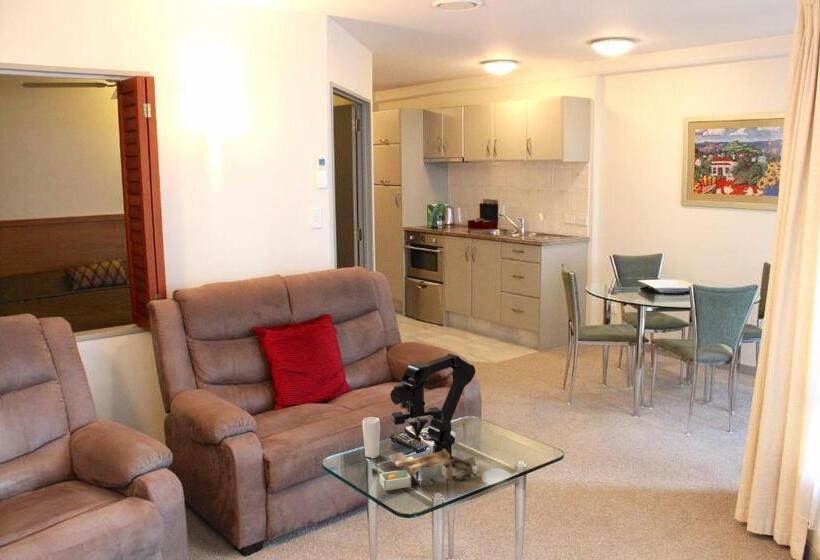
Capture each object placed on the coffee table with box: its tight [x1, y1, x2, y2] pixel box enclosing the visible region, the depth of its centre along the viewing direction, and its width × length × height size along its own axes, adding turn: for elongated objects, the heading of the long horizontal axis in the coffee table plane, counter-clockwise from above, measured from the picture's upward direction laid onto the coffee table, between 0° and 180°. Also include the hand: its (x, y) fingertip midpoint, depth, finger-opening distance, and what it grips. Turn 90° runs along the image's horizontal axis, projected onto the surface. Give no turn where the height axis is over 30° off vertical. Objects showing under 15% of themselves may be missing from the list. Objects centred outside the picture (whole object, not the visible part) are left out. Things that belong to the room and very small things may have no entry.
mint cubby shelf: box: [378, 469, 412, 492], centre depth 264 cm, size 10×7×4 cm
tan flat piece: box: [388, 449, 452, 474], centre depth 269 cm, size 20×14×3 cm
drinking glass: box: [362, 416, 381, 459], centre depth 286 cm, size 7×7×15 cm
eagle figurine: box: [450, 459, 479, 482], centre depth 268 cm, size 8×7×9 cm
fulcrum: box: [412, 456, 454, 488], centre depth 268 cm, size 13×9×7 cm
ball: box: [388, 475, 397, 480], centre depth 263 cm, size 3×3×3 cm
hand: (417, 437), depth 276 cm, fingers closed
